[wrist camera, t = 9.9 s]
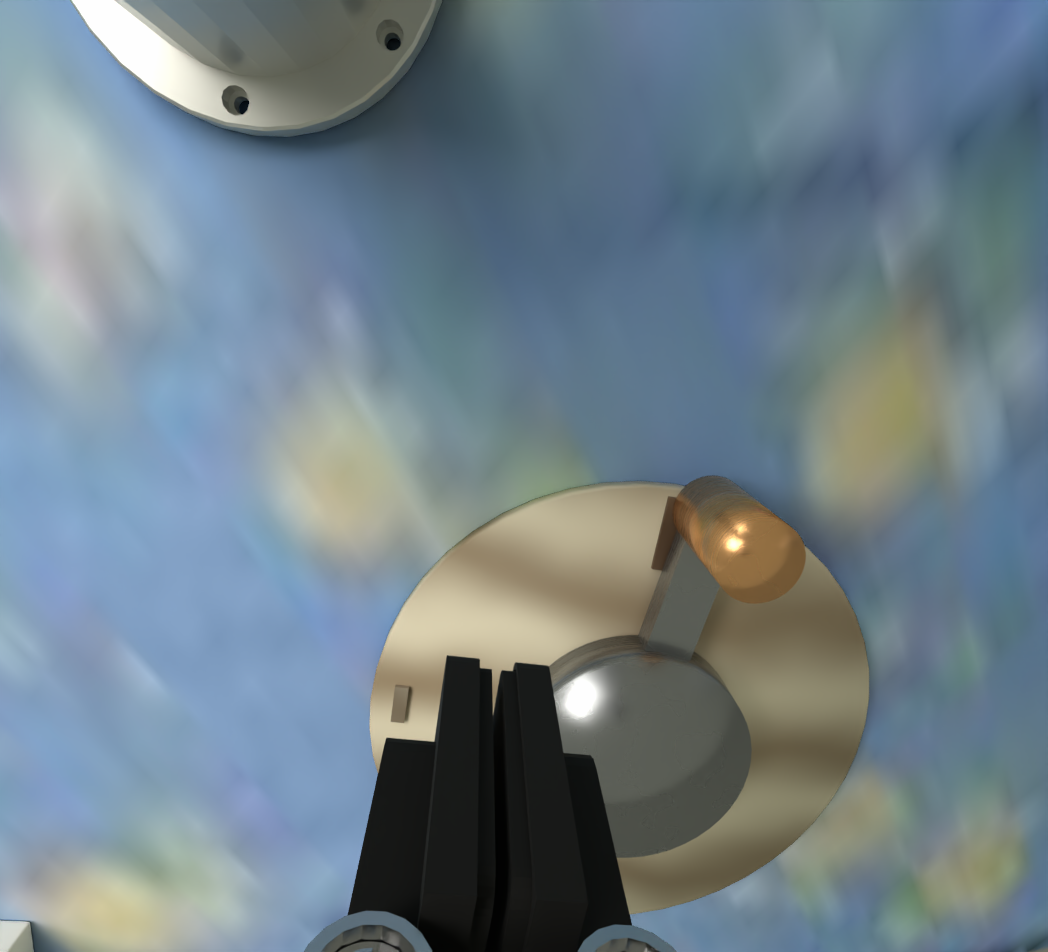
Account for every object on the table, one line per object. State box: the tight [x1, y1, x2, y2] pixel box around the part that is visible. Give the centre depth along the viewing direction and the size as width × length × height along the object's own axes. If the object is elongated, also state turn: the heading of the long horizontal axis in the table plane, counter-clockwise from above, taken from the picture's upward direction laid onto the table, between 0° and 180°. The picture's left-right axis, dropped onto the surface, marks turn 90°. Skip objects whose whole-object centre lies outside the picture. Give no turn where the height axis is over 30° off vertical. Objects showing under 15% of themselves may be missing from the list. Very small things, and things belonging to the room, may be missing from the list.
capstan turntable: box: [549, 476, 806, 858], centre depth 24 cm, size 18×10×5 cm, turn 164°
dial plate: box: [370, 481, 869, 914], centre depth 28 cm, size 23×23×1 cm
